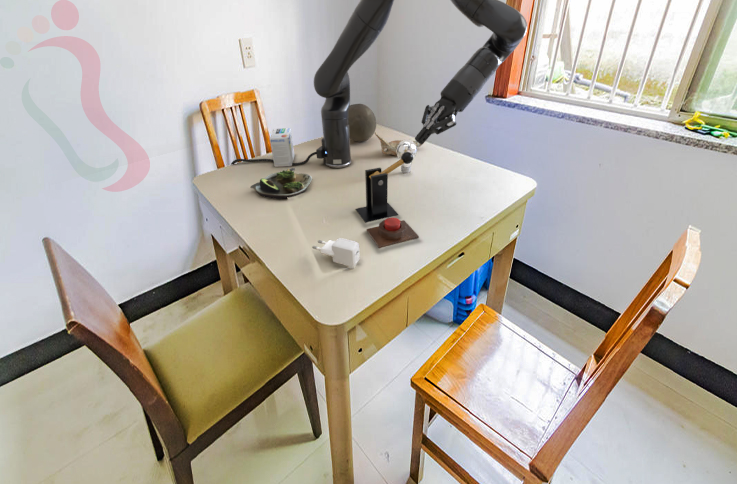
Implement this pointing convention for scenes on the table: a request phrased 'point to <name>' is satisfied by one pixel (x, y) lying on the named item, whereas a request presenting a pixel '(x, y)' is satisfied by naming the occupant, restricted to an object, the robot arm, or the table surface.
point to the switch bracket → (376, 197)
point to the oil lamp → (392, 145)
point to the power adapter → (341, 251)
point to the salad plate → (283, 184)
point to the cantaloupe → (361, 122)
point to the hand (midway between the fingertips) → (418, 141)
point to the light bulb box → (282, 147)
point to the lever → (397, 163)
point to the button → (392, 224)
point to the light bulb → (406, 147)
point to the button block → (391, 234)
